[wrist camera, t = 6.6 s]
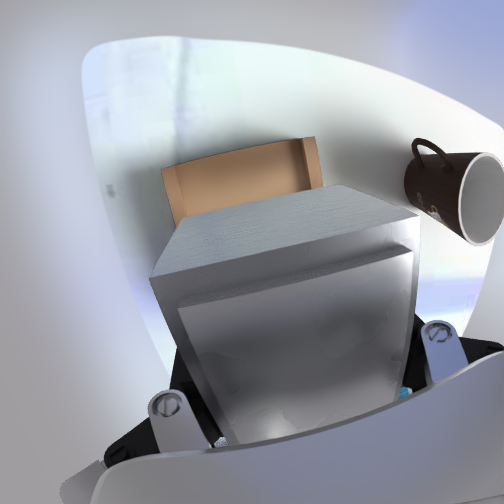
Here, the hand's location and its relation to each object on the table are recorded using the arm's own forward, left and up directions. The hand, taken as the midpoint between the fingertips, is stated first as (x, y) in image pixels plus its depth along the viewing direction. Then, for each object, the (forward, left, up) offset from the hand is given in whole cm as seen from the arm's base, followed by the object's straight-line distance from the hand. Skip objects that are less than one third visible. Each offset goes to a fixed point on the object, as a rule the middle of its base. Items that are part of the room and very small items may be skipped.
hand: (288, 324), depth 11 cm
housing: (0, 0, -1) cm, 1 cm away
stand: (0, 0, -17) cm, 17 cm away
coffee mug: (+2, -20, -17) cm, 26 cm away
